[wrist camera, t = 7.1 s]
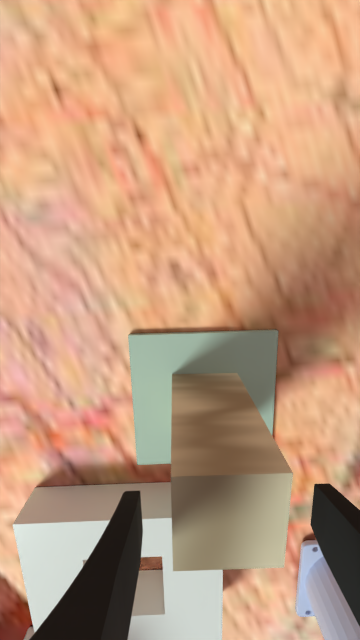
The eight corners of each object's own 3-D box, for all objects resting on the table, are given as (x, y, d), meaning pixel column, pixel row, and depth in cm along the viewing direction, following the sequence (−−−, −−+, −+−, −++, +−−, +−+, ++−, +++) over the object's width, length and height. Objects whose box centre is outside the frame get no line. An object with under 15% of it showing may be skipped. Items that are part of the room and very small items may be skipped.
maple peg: (237, 372, 19) (292, 473, 10) (235, 430, 20) (283, 567, 11) (171, 374, 19) (170, 476, 10) (173, 432, 20) (172, 571, 11)
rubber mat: (276, 329, 19) (278, 331, 18) (268, 455, 21) (270, 459, 20) (129, 333, 18) (128, 335, 18) (137, 460, 21) (137, 464, 20)
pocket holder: (216, 480, 21) (223, 515, 18) (215, 595, 24) (221, 642, 21) (35, 487, 21) (12, 524, 18) (54, 603, 24) (38, 651, 21)
